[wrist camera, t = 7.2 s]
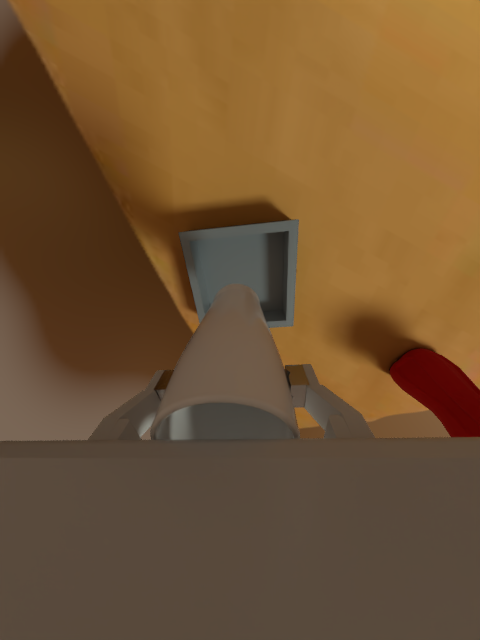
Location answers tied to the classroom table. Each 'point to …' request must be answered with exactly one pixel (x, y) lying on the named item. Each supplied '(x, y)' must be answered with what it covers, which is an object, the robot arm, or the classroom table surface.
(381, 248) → the classroom table surface
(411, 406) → the classroom table surface
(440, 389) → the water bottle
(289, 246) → the bin
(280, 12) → the classroom table surface
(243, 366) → the drinking glass
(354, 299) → the classroom table surface
